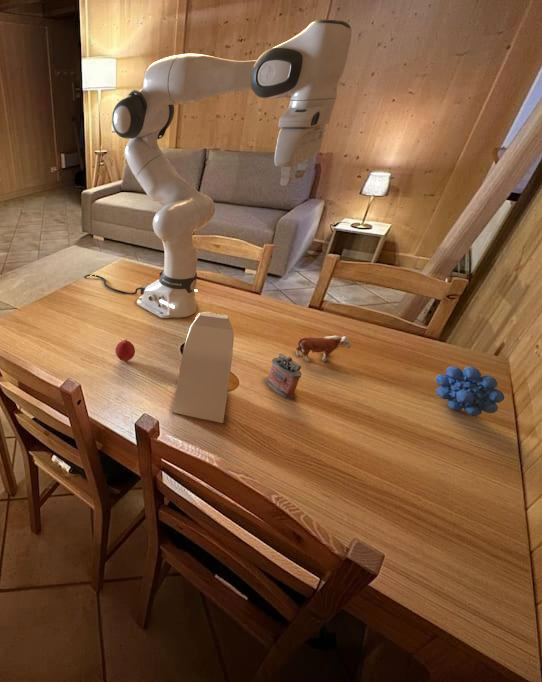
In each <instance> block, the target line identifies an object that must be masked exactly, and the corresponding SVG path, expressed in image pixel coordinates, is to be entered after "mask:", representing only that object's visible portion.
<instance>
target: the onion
mask: <svg viewBox="0 0 542 682" xmlns="http://www.w3.org/2000/svg"><path fill="white" fill-rule="evenodd" d="M135 354H136V348H135V346H134V343H132V342H131V341H130V340H128V339H127V338H125V339H124V340H121V341H119V342H118V343H117V344H116V347H115V356H116V357H117V358H118V359H119V360H120V361H122V362H128V361H131V359H133V358H134V356H135Z"/></svg>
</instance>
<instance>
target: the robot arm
mask: <svg viewBox="0 0 542 682" xmlns="http://www.w3.org/2000/svg"><path fill="white" fill-rule="evenodd" d="M351 40H352V27H351V25H350V24H349V23H348V22H346V21H344V20H336V19H326V18H325V19H322V18H321V19H316V20H314V21H312V22H311V23H309V25H308V26H307V27H306V28H304V29H303V30H302V31H301V32H300V33H298V34H296V35H295V36H293V37H292V38H290V39H289V40H287V41H284V42H282V43H280V44H278V45H275V46H274V47H271V48H269V49H267V50H265V51H263V53H262V54H261V55H259V57H258V58H257V59H253V60H252V59H251V60H233V59H232V60H231V59H227V58H226V59H225V58H221V57H217V56H213V55H212V56H211V55H207V54H201V53H182V54H181V53H180V54H176V55H170V56H167V57H164V58H162V59H159V60H157V61H154V62H152V63H151V64H150V65H149V66H148V68H147V69H146V71H145V73H144V75H143V83H142V87H141V88H140V90H138V89H133V90H131V91H130V92H129V93H128V94H127V95H126V96H125V97H123V98H122V99H121V100H119V101H118V102H117V103H116V105H115V106H114V108H113V110H112V115H111V124H112V128H113V131H114V132H115V133H116V135H117V136H118V137H120V138H122V139H128V142H127V143H126V145H125V147H124V151H123V155H124V158H125V161H126V163H127V165H128V167H129V169H130V171H131V173H132V175H133V176H134V178H135V180H136V181H137V183H138V184H139V185H140V187H141V189H143V191H144V193H145V194H146V195H147V197H148V198H149V199H150V200H151V201H154V202H155V203H159V204H160V205H162V206H163V207H162V208H160V209H159V210H158V211H157V212H156V213H154V216H153V219H152V229H153V232H154V235H156V236H157V238H159V239H160V240H161V242H162V246H163V252H164V258H163V259H164V261H163V269H161V270H160V271H159V272H158V273H157V274H156V277H157V278H158V277H159V278H158V279H157V280H154V281H153V282H151V283H148V282H147V283H145V284H143V285H142V286H140V287H137V288H136V289H135V291H134V292H127V291H122V290H120V289H116V288H113V287H111V286H110V285H108V284H107V280H106V279H105V278H104V277H102V276H101V275H97V274H93V273H91V274H86V275H84V276H83V278H84V279H86V278H87V277H95V278H98V279H101V280H102V281H103V284H104V286H105V287H106V288H107V289H109V290H111V291H114V292H118V293H121V294H125V295H136V294H137V293H138V291H139V290H140V296H139V297H138V298H137V300H136V305H138V306H139V307H141V308H143V309H145V310H146V311H148V312H150V313H152V314H154V315H155V316H157V317H159V318H160V319H169V318H186V317H190V316H192V315H194V314H195V313H197V304H196V293H197V292H198V289H196V287H197V280H198V272H197V270H198V269H197V268H198V266H197V265H198V260H199V251H198V249H197V248H196V247H195V246H194V242H193V235H194V232H196V231H197V230H200V229H202V228H204V227H206V225H207V224H208V223H209V222H210V221H211V220H213V217H214V216H215V213H216V205H215V202H214V200H213V199H212V198H211V196H209V195H207V194H204V193H201V192H200V191H198V190H197V189H196V188H195V187H194V186H192V185H191V184H190V183H189V182H188V181H186V180H185V179H184V178H183V177H182V176H181V175H180V174H179V173H178V172H177V170H176V169H175V168H174V166H173V165H172V163H171V162H170V160H169V159H168V157H167V156H166V155H165V153H164V152H163V151H162V149H161V148H160V146H159V144H158V140H161V139H162V138H163V137H164V136H165V134H166V130H167V129H168V128H169V127H170V126H171V123H172V121H173V119H174V115H175V105H189V104H193V103H194V104H195V103H198V102H203V101H205V100H208V99H211V98H212V99H213V98H214V97H218V96H221V95H225V94H228V93H233V92H241V91H243V92H246V91H252V92H253V93H254V94H255V96H257V97H259V98H262V99H266V100H272V99H282V98H290V99H289V104H288V107H287V109H286V111H284V113H283V114H281V116H280V117H279V120H278V128H280V130H279V132H278V136H277V139H276V144H275V151H274V158H273V162H274V166H275V167H280V182H279V185H280V186H284V187H287V186H288V185H290V184H291V181H292V171H293V170H294V166H295V165H297V164H298V167H297V169H296V170H295V173H294V178H295V179H302V178H304V177H305V174H306V171H307V169H308V167H309V165H310V163H311V160H312V158H313V157H316V156H317V155H319V153H320V151H321V149H322V145H323V139H324V138H325V137H324V136H325V132H326V125H327V124H330V122H331V117H332V114H333V111H334V107H335V103H336V99H337V96H338V93H337V92H338V90H337V89H338V85H339V82H340V80H341V78H342V76H343V75H344V71H345V68H346V64H347V59H348V55H349V51H350V46H351ZM92 274H93V275H92ZM90 275H92V276H90ZM95 275H96V276H95Z"/></svg>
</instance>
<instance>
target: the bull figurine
mask: <svg viewBox="0 0 542 682" xmlns="http://www.w3.org/2000/svg"><path fill="white" fill-rule="evenodd" d="M352 345H353V344H351V341H350V339H349V338H348V337H347V335H345V334H342V336H340V335H330V336H329V335H326V336H303V337H300V338H299V340H298V341H297V347H296V348H295V349H296V352H295V355H297V357H301V358H302V357H304V360H305V361H307V362H312V360H311V358H310V357H309V353H310V352H311V353H323V352H324V353H323V356H322V358H321V360H322V361H323V362H327V358H328V357H329V355H330V354H332V353H333V352H334V351H335V350H338V349H339V348H347V349H351V348H352V347H353V346H352Z"/></svg>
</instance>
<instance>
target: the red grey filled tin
mask: <svg viewBox="0 0 542 682" xmlns="http://www.w3.org/2000/svg"><path fill="white" fill-rule="evenodd" d="M301 368H302V365H301V364H299V363H298V362H297V361H295V360H293V358H292V357H291V356H286V355H285V354H283V353H279V354H278V356H277V357H274V358H272V359H271V365H270V369H269V371H268V376H267V377H266V380H265V383H266V384H267V386H268V387H270V388H271V389H272V390H273V391H274V392H275V393H277V394H279V395H281V396H282V397H283V398H286V399H293V398H294V397H295V395H296V394H295V393H296V389H297V386H298V384H299V381H300V378H301V377H302V375H303V373H302V372H301Z"/></svg>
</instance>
